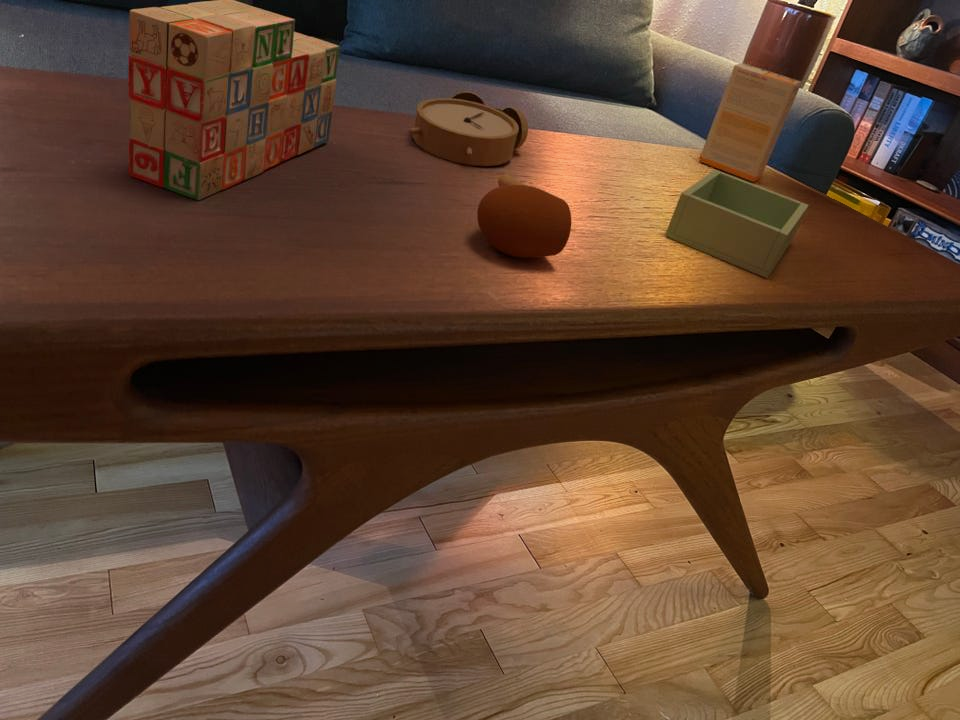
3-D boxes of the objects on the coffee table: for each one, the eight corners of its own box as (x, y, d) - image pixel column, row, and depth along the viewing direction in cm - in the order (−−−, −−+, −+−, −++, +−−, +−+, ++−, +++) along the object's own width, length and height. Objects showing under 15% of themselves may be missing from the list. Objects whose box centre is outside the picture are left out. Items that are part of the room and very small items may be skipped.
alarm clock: (394, 111, 81) (466, 73, 92) (391, 154, 84) (460, 113, 95) (488, 148, 78) (551, 105, 89) (480, 191, 81) (542, 145, 92)
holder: (790, 244, 85) (809, 204, 83) (766, 278, 74) (787, 234, 72) (699, 207, 88) (715, 169, 86) (664, 236, 77) (681, 192, 75)
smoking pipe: (476, 261, 62) (493, 193, 59) (454, 178, 77) (467, 120, 74) (561, 275, 63) (582, 209, 60) (523, 191, 79) (538, 135, 76)
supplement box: (761, 178, 107) (804, 81, 100) (753, 183, 103) (797, 84, 97) (706, 156, 110) (744, 61, 103) (696, 161, 106) (734, 63, 99)
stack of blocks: (273, 123, 78) (286, -8, 71) (329, 143, 77) (347, 11, 71) (127, 176, 60) (127, 5, 53) (198, 202, 59) (207, 32, 53)
